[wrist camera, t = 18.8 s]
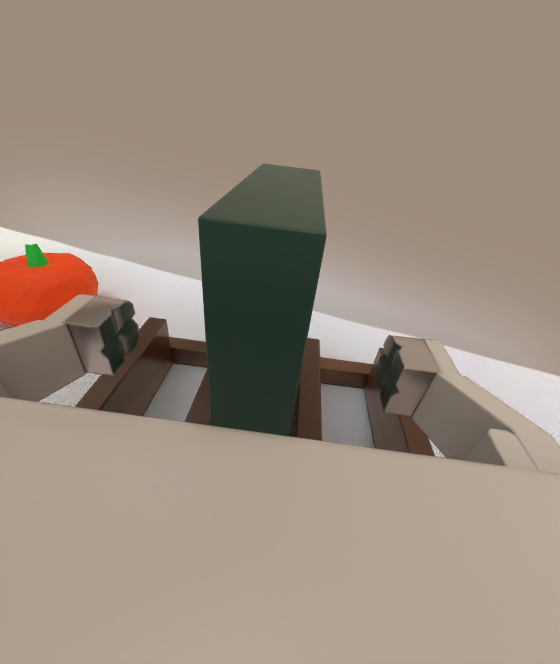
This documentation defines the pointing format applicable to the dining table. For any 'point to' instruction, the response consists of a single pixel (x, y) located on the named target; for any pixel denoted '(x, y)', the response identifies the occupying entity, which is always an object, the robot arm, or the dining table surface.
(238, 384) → the book
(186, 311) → the dining table surface
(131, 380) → the book rack
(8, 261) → the pumpkin
